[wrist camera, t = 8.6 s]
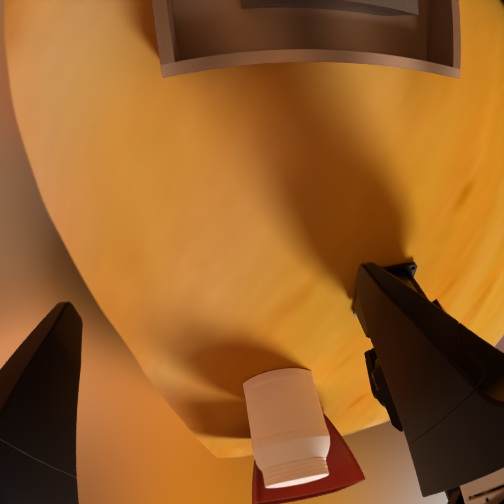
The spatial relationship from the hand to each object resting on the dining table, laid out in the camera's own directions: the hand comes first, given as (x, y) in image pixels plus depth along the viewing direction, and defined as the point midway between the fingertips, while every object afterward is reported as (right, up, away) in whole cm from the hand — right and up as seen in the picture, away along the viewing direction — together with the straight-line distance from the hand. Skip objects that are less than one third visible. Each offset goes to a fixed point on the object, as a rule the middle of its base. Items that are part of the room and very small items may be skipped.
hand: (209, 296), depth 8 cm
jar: (+5, -18, +32) cm, 37 cm away
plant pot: (+9, -35, +46) cm, 58 cm away
